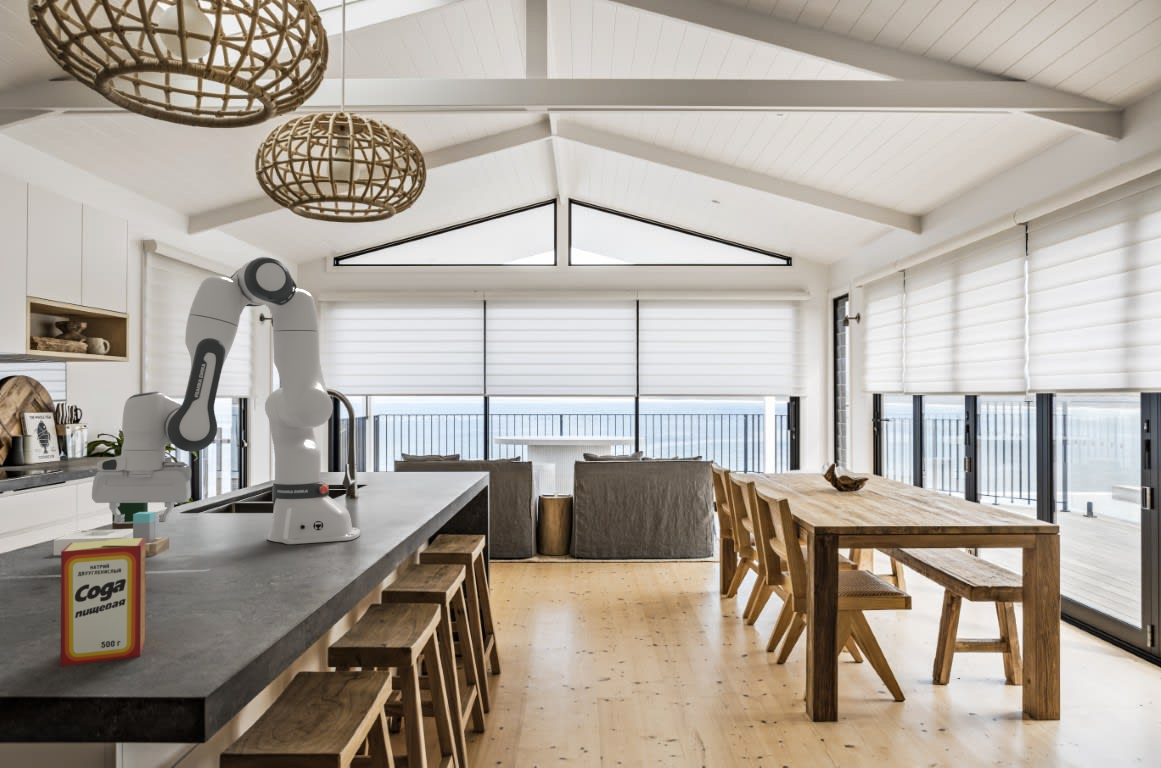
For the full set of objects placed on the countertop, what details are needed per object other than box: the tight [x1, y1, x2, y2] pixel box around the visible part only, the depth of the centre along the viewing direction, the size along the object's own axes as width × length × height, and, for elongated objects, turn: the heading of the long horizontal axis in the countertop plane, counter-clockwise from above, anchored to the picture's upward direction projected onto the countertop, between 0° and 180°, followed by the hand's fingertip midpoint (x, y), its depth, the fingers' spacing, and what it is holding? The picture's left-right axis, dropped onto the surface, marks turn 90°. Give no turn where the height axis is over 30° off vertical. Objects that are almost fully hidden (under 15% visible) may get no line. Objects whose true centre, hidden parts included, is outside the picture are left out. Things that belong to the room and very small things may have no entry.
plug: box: [133, 511, 156, 543], centre depth 177 cm, size 4×4×9 cm
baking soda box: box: [59, 538, 147, 667], centre depth 110 cm, size 10×6×16 cm
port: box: [53, 528, 133, 556], centre depth 181 cm, size 14×12×4 cm
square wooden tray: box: [145, 537, 170, 557], centre depth 177 cm, size 8×8×3 cm
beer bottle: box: [111, 503, 149, 529], centre depth 196 cm, size 8×8×24 cm
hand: (141, 522), depth 177 cm, fingers open, 8 cm apart
